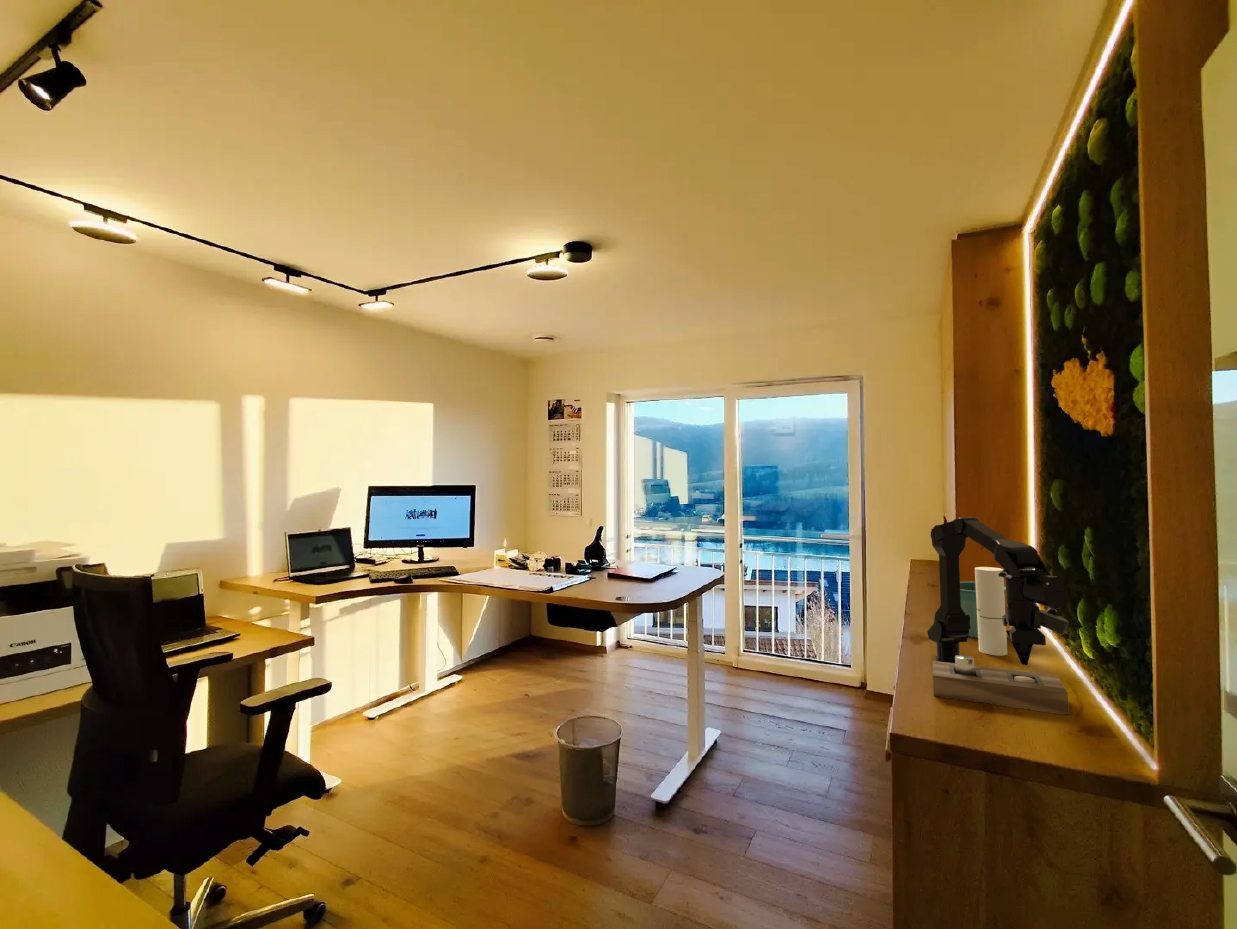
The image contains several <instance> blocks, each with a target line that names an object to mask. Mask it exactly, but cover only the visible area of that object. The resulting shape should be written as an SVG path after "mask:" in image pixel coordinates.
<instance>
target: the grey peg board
mask: <svg viewBox="0 0 1237 929" xmlns="http://www.w3.org/2000/svg"><path fill="white" fill-rule="evenodd" d="M974 670H975V676H972V675H964V674H956V667H955V663H947V662H938V661H936V660H932V682H933V696H934V697H937V696H942V697H941V698H944V697H948V698H947V699H951V698H955V699H954V700H958V699H962V700H961V701H965V700H968V701H967V702H972V701H975V702H974V703H979V702H986V703H991V704H990V705H993V704H997V705H996V706H1000V705H1002V707H1009V708H1014V709H1015V708H1017V709H1021V708H1025V709H1024V710H1028V709H1030V711H1035V712H1036V711H1037V712H1043V713H1050V714H1058V715H1064V714H1069V711H1070V709H1069V695H1068V694H1069V692H1068V691H1067V689H1066V688H1065V686H1064V685H1063V683H1062V682H1061V680H1060V679H1059V677H1058V675H1057V674H1049V673H1041V672H1032V671H1025V670H1015V669H1007V668H997V667H989V666H979V665H974ZM1016 676H1024V677H1029V678H1032V679H1034V680H1035V683H1029V682H1021V681H1014V677H1016ZM986 703H985V704H986ZM1069 715H1070V714H1069Z"/></svg>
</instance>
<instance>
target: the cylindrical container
mask: <svg viewBox="0 0 1237 929" xmlns="http://www.w3.org/2000/svg"><path fill="white" fill-rule="evenodd" d="M1003 570H1004V568H1002V567H1001V568H999V567H991V566H977V567H974V576H975V578H974V579H975V580H974V582H975V583H976V602H977V622H978V638H977V639H978V640H977V641H978V651H979V652H980V653H983V654H986V655H990V656H999V657H1001V656H1002V657H1003V656H1007V655H1008V640H1007V638H1008V637H1007V636H1008V635H1007V632H1006V630H1007V626H1004V625H1003V621H1002V616H1003V615H1005V614H1006V604H1005V600H1006V596H1005V597H1004V586H1005V583H1004V581H1005V580H1004V579H1005V578H1004V577H1000V576H999V575H998V574H999V573H1000V572H1002V571H1003Z"/></svg>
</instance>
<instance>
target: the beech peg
mask: <svg viewBox="0 0 1237 929" xmlns="http://www.w3.org/2000/svg"><path fill="white" fill-rule="evenodd" d="M1014 681H1021V682H1029V683H1035V680H1034V679H1032V678H1029V677H1024V676H1016V677H1014Z"/></svg>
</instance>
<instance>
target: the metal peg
mask: <svg viewBox="0 0 1237 929" xmlns="http://www.w3.org/2000/svg"><path fill="white" fill-rule="evenodd" d="M974 666H975V658H974V657H973V656H970V655H965V654H964V655H963V654H960V655H956V656H955V667H956V674H964V675H972V676H975V670H974Z"/></svg>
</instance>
